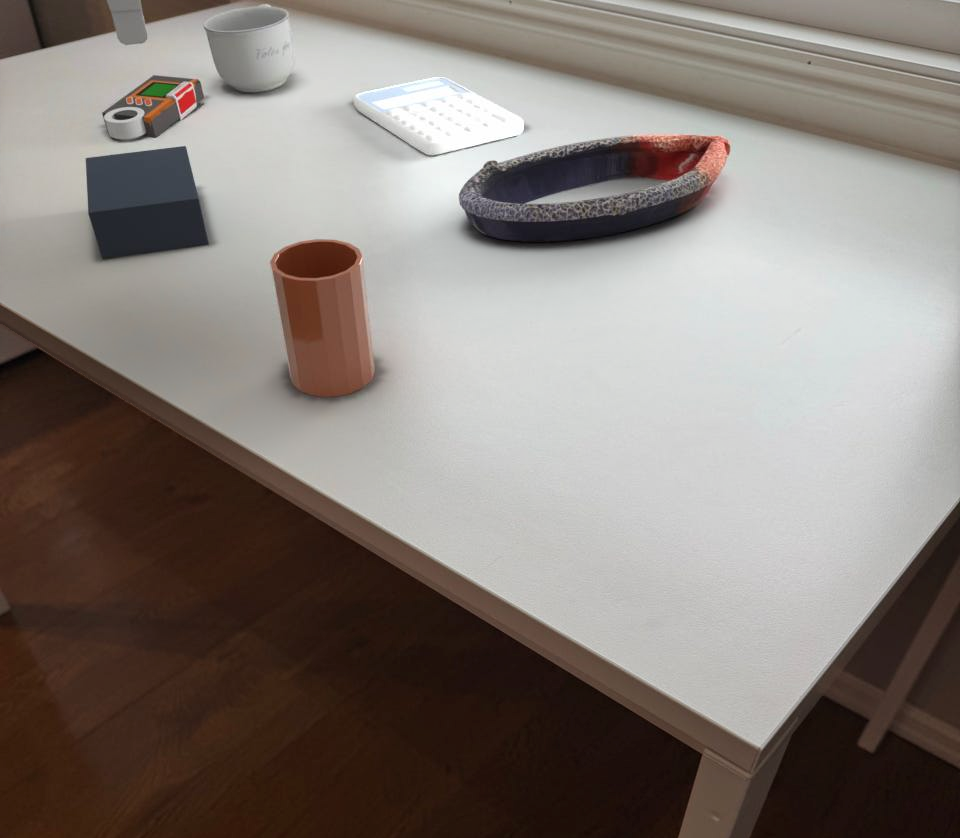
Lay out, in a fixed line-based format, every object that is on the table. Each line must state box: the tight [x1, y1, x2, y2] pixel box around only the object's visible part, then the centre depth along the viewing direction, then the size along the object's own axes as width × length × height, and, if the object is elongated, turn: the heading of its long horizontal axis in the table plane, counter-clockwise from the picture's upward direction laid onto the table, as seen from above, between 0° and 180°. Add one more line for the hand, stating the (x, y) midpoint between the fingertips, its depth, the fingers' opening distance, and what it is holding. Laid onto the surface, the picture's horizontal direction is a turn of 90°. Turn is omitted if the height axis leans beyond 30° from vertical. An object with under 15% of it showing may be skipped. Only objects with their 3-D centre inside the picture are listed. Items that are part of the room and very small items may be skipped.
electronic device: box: [101, 74, 205, 140], centre depth 118 cm, size 7×3×15 cm
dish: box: [458, 133, 731, 243], centre depth 97 cm, size 16×31×5 cm, turn 115°
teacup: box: [202, 3, 296, 93], centre depth 126 cm, size 14×11×8 cm
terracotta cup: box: [269, 238, 376, 398], centre depth 74 cm, size 7×7×10 cm
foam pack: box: [85, 145, 210, 260], centre depth 96 cm, size 10×14×5 cm
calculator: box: [353, 76, 525, 156], centre depth 117 cm, size 13×20×2 cm, turn 31°
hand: (130, 20), depth 63 cm, fingers open, 8 cm apart
